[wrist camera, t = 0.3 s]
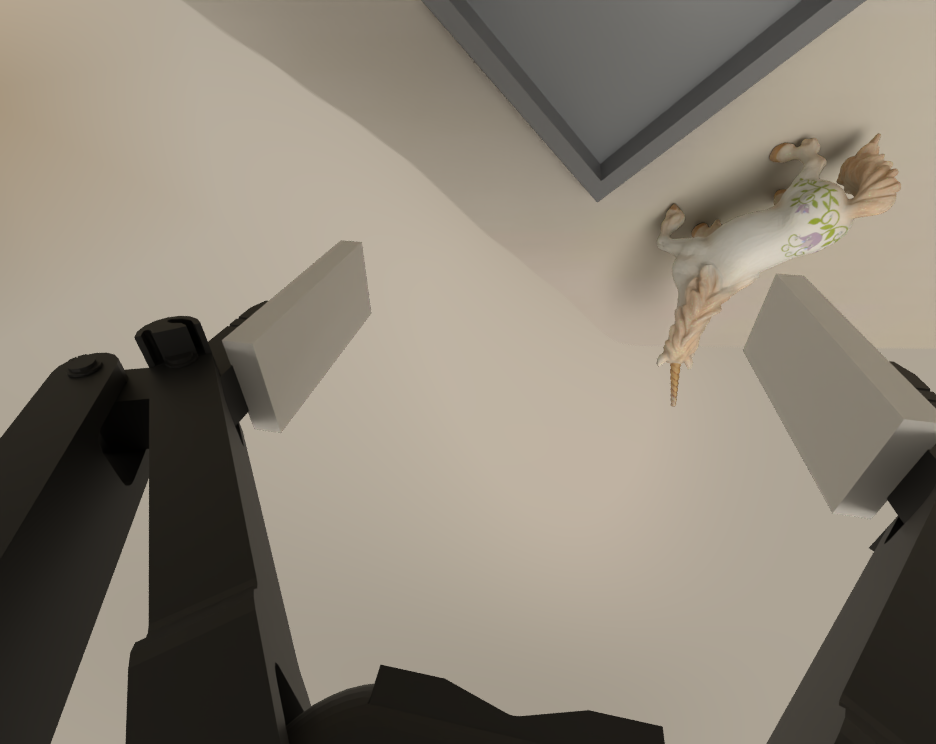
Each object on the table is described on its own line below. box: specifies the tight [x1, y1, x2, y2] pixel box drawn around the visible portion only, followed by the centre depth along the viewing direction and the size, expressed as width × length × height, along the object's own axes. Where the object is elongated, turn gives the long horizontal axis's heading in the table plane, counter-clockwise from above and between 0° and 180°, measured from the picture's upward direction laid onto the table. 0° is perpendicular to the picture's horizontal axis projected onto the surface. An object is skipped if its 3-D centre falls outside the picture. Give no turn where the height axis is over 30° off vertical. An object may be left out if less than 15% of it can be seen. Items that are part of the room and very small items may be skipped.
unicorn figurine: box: [657, 133, 901, 407], centre depth 33 cm, size 7×20×13 cm, turn 150°
